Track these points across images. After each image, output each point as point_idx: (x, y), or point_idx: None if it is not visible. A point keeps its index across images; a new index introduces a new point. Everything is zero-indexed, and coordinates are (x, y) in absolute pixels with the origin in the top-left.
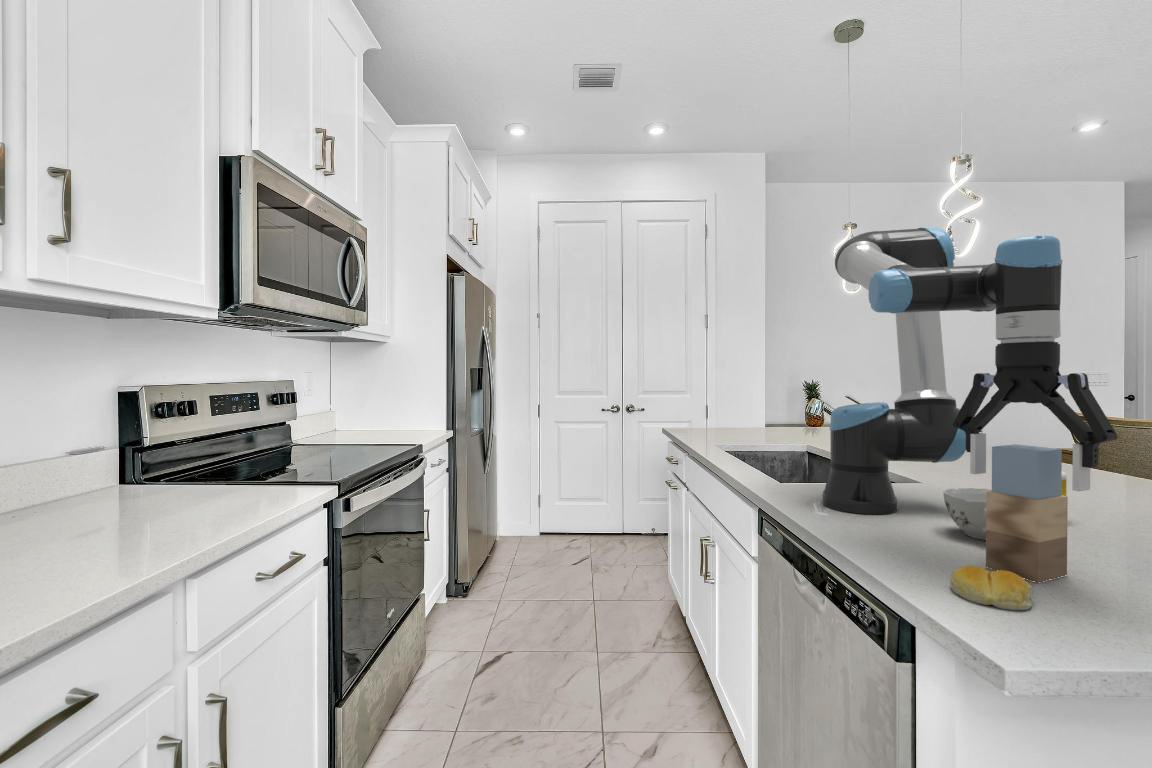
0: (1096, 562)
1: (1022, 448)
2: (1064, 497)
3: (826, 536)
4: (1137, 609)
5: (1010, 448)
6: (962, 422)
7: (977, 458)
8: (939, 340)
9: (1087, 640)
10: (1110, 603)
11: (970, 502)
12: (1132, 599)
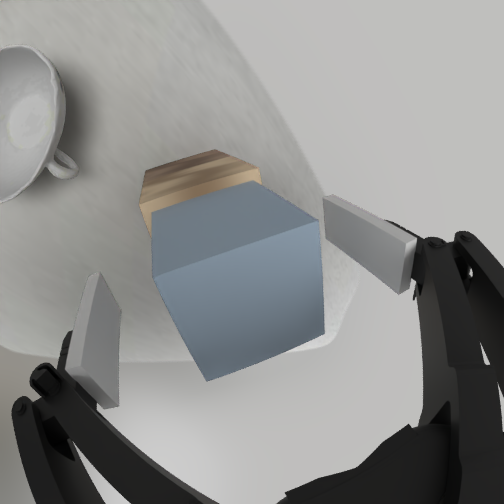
0: (175, 48)
1: (262, 331)
2: (260, 180)
3: (52, 351)
4: (310, 174)
5: (253, 359)
6: (73, 445)
7: (114, 333)
8: None
9: (332, 279)
10: (293, 186)
11: (26, 188)
12: (292, 149)
